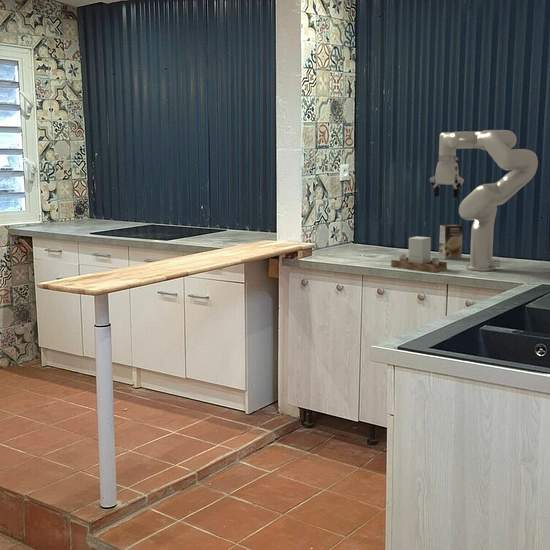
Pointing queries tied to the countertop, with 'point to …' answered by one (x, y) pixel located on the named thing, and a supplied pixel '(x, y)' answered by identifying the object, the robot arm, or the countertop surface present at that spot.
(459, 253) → the coffee box
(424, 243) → the supplement box
